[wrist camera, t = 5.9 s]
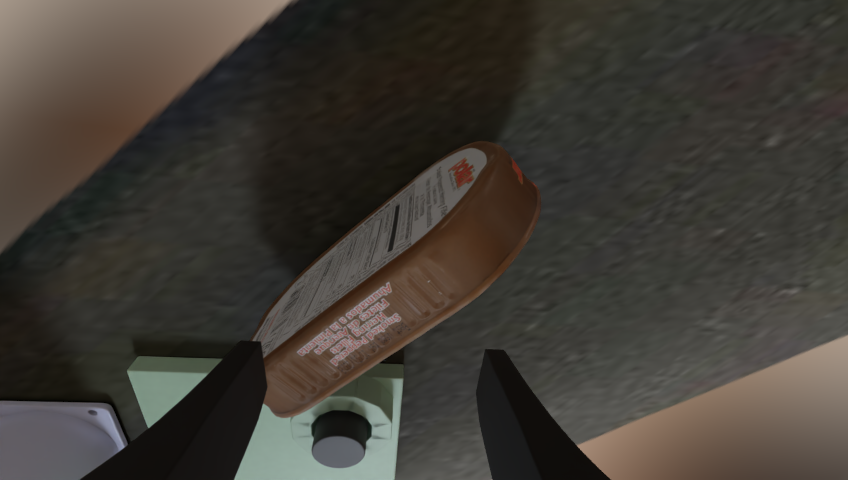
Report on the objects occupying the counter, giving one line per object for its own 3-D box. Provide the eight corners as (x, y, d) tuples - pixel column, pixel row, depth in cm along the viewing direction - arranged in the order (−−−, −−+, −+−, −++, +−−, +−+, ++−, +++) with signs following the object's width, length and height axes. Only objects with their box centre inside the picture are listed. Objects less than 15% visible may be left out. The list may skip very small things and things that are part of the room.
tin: (302, 323, 23) (255, 463, 16) (259, 290, 22) (186, 425, 15) (515, 160, 19) (584, 247, 12) (476, 108, 18) (527, 169, 11)
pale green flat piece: (179, 474, 30) (157, 518, 27) (136, 349, 24) (102, 390, 21) (394, 476, 31) (393, 518, 28) (404, 358, 25) (404, 397, 22)
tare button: (318, 440, 24) (312, 468, 23) (316, 407, 23) (309, 435, 22) (367, 441, 25) (364, 469, 23) (368, 408, 23) (365, 436, 22)
